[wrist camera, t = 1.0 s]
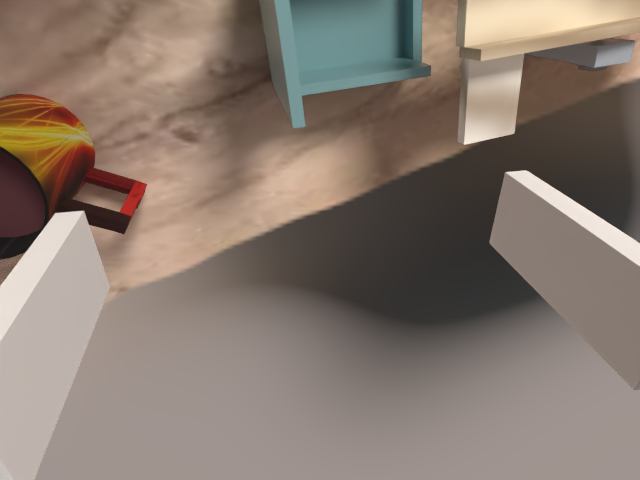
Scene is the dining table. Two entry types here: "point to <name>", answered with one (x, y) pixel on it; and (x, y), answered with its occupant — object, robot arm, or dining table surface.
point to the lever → (521, 50)
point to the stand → (591, 53)
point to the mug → (50, 172)
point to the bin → (339, 46)
